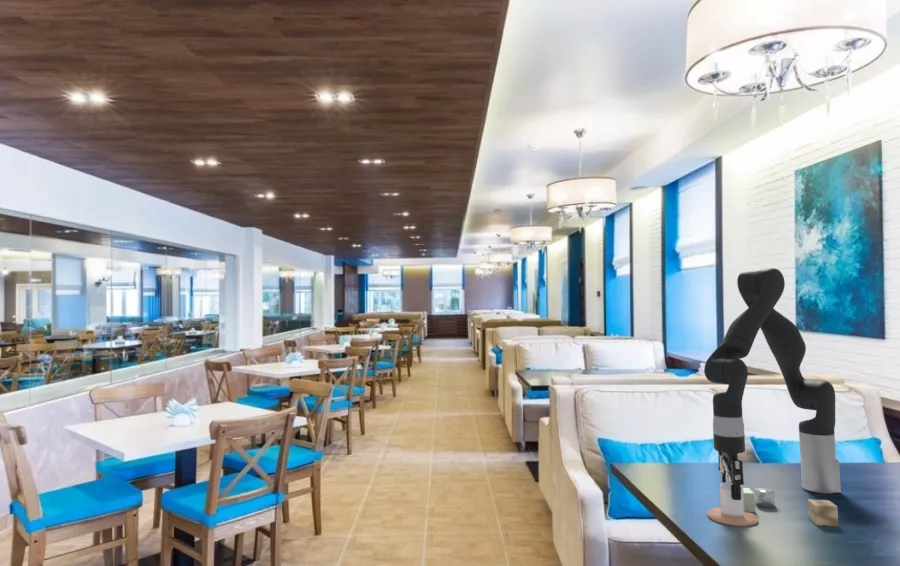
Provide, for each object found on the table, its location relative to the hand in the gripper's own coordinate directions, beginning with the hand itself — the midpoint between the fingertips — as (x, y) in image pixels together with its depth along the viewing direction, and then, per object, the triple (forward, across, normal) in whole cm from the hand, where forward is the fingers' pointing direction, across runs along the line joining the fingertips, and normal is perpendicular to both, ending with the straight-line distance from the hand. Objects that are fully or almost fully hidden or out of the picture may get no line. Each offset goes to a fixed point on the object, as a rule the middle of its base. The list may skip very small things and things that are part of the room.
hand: (731, 494), depth 148 cm
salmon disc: (+6, 0, 0) cm, 6 cm away
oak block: (+6, +1, -22) cm, 23 cm away
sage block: (+6, +9, -5) cm, 12 cm away
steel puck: (+6, +13, -12) cm, 19 cm away
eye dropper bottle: (+6, 0, 0) cm, 6 cm away
